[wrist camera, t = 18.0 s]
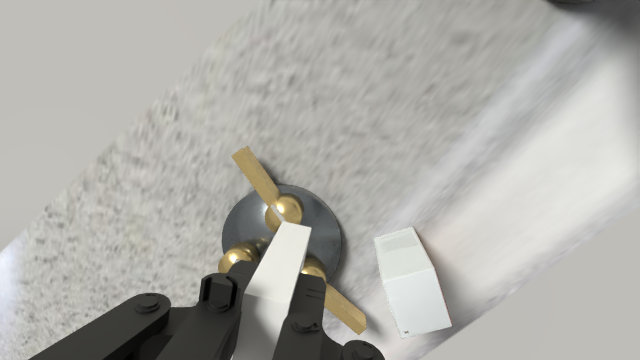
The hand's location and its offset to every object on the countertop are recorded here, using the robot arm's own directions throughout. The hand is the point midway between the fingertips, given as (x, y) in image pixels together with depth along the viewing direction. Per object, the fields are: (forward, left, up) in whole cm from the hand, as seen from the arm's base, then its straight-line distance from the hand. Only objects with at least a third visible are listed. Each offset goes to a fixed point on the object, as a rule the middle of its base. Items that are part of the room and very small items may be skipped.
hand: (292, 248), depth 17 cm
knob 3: (+20, +5, -30) cm, 37 cm away
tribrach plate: (+15, -4, -32) cm, 36 cm away
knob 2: (+6, -7, -30) cm, 32 cm away
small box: (+13, +14, -33) cm, 38 cm away
